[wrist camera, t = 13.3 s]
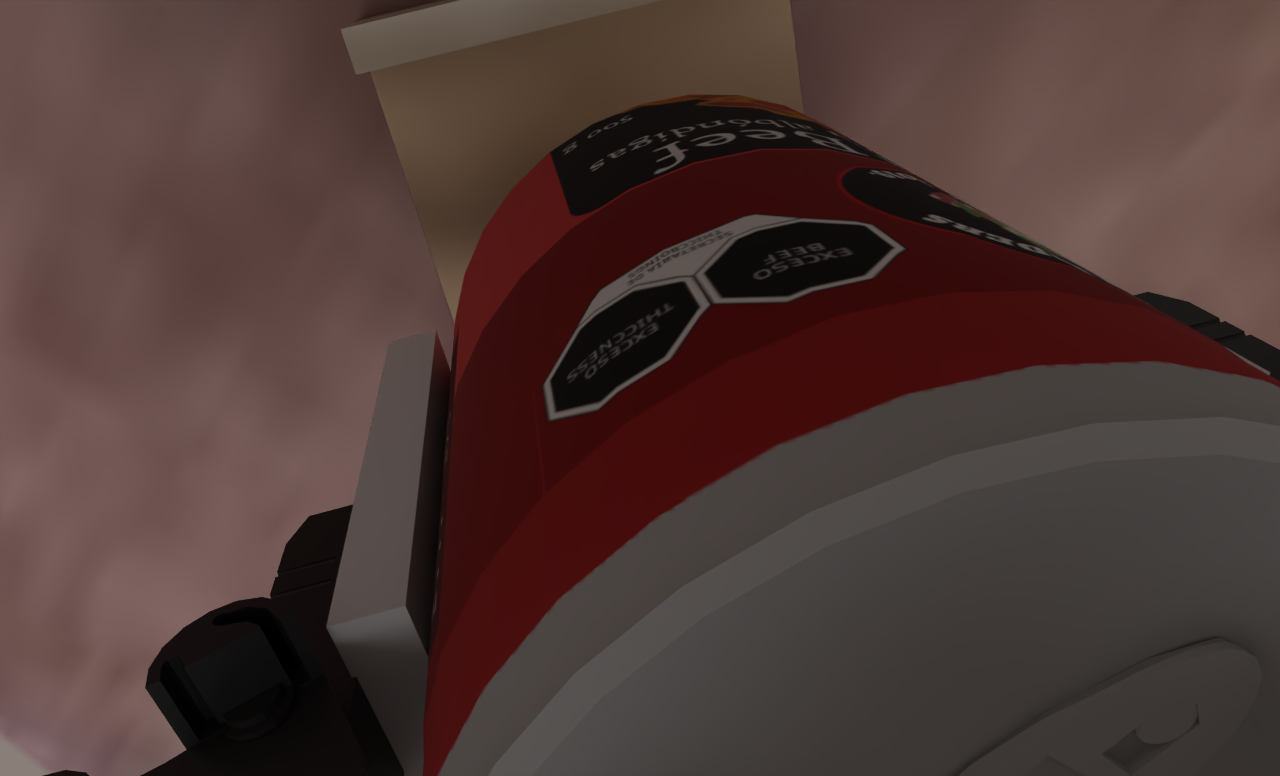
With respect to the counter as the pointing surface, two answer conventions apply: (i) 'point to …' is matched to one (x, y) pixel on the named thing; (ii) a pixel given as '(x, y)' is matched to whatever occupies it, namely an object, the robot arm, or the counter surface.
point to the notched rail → (545, 87)
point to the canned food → (834, 483)
